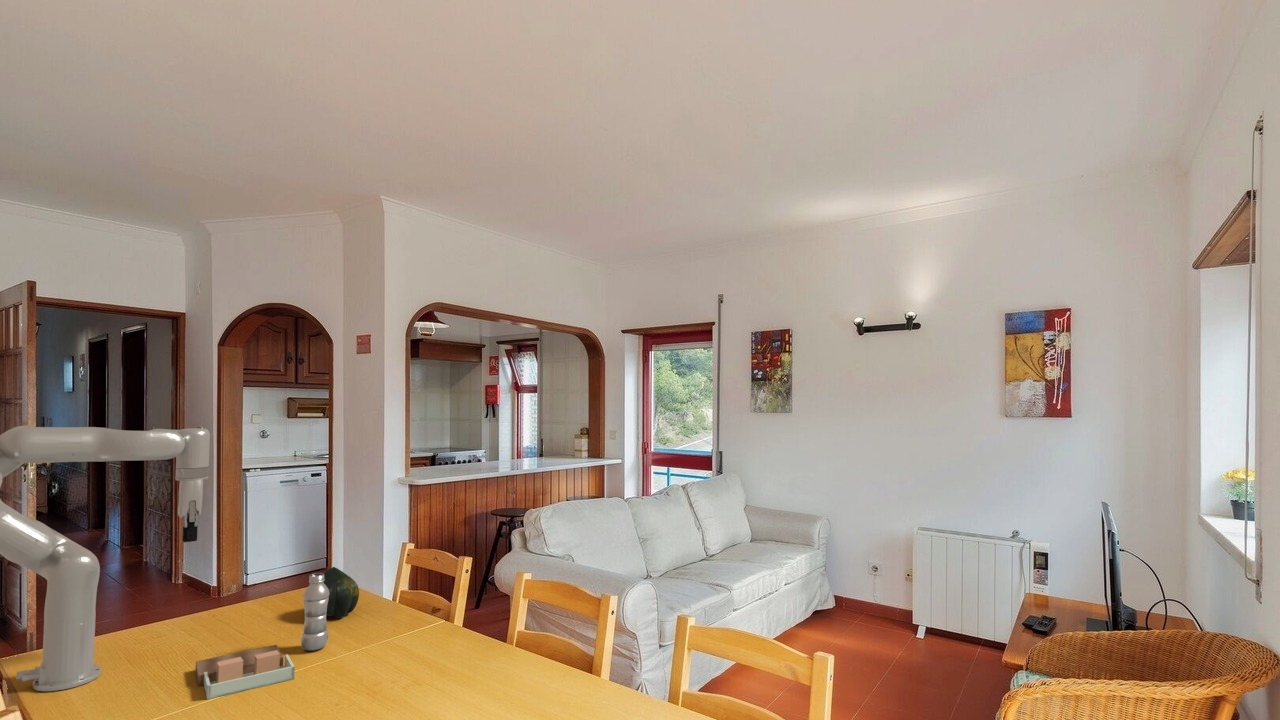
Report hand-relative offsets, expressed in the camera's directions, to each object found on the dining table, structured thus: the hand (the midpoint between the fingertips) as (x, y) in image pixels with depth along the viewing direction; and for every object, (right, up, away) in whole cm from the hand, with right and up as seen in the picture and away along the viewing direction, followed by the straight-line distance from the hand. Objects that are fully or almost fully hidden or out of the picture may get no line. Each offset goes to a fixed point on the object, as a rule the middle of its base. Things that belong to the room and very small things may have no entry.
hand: (189, 540), depth 181 cm
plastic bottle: (+34, -30, 0) cm, 45 cm away
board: (+22, -29, -13) cm, 38 cm away
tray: (+28, -29, -20) cm, 45 cm away
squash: (+27, -31, +26) cm, 48 cm away
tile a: (+23, -26, -20) cm, 40 cm away
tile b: (+30, -26, -16) cm, 42 cm away
